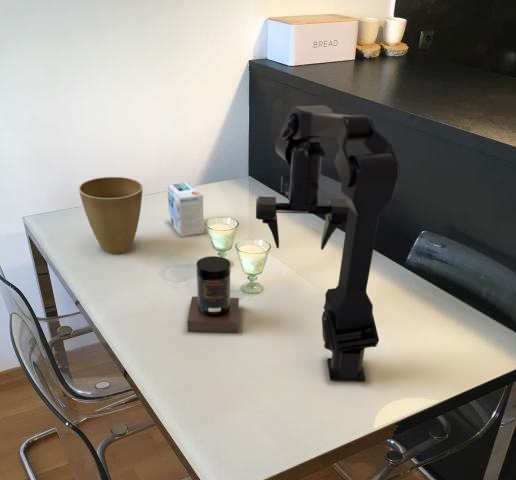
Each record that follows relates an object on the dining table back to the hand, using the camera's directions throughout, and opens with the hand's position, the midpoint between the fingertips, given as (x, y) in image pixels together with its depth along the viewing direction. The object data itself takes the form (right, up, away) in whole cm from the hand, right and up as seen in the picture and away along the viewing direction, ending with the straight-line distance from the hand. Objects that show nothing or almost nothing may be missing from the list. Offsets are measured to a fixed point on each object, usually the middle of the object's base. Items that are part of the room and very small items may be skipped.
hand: (299, 248), depth 124 cm
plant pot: (-44, +4, +27) cm, 52 cm away
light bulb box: (-28, +12, +39) cm, 50 cm away
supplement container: (-18, -13, -1) cm, 22 cm away
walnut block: (-18, -15, 0) cm, 23 cm away
